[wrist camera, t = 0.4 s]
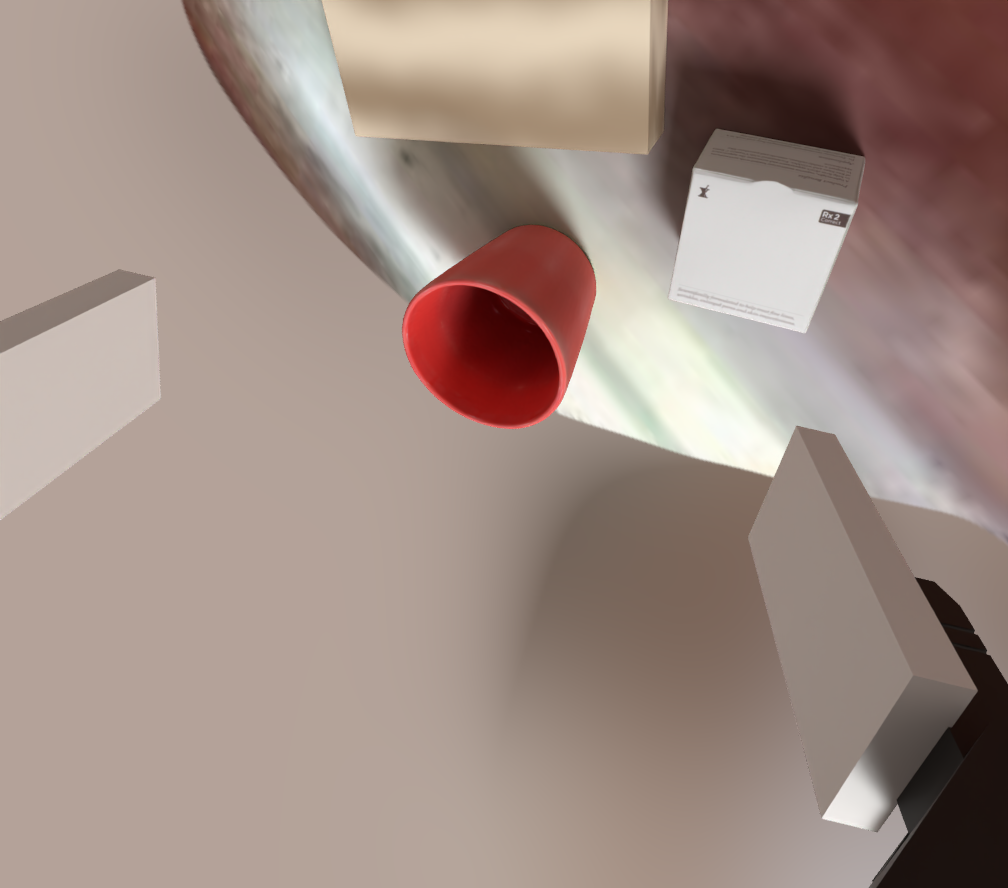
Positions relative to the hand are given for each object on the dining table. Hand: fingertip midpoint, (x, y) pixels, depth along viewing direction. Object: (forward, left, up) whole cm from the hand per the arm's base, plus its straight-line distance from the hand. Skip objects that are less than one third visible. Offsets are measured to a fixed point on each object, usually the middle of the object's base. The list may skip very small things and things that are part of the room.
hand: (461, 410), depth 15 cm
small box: (+10, +2, -30) cm, 32 cm away
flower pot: (+16, -12, -30) cm, 36 cm away
